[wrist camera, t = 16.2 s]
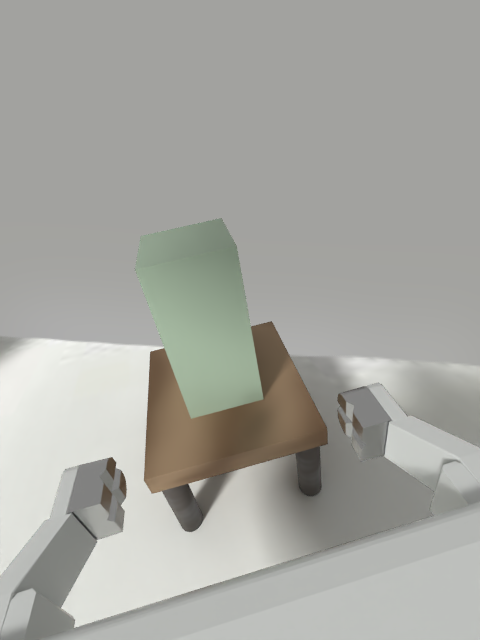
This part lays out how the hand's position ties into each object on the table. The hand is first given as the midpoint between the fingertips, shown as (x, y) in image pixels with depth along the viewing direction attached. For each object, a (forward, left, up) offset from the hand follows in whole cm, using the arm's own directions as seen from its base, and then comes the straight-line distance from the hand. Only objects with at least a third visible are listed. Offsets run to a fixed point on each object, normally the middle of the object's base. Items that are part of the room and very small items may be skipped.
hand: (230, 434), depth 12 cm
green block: (0, +10, -7) cm, 12 cm away
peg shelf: (0, +10, -15) cm, 18 cm away
